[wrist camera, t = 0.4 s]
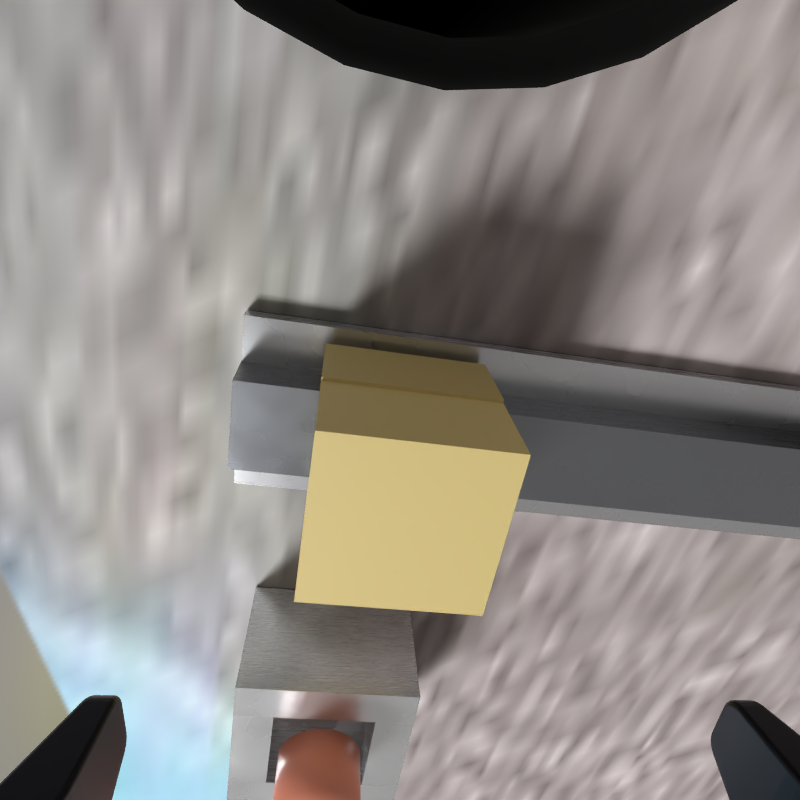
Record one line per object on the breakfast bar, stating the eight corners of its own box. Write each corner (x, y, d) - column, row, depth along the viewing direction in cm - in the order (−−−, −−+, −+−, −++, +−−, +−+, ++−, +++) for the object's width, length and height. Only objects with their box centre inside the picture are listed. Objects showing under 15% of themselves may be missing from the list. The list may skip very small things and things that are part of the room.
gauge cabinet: (408, 598, 24) (420, 697, 20) (385, 701, 26) (391, 808, 22) (256, 587, 23) (235, 687, 19) (246, 694, 25) (226, 804, 21)
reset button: (365, 730, 20) (366, 791, 18) (354, 783, 21) (354, 844, 19) (281, 726, 20) (274, 788, 18) (274, 780, 21) (267, 843, 19)
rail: (872, 396, 21) (921, 422, 19) (798, 531, 24) (835, 565, 22) (246, 310, 18) (235, 331, 16) (236, 475, 21) (225, 508, 19)
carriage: (485, 364, 19) (532, 451, 14) (451, 501, 21) (481, 618, 16) (325, 343, 18) (315, 426, 13) (308, 487, 20) (293, 605, 15)
